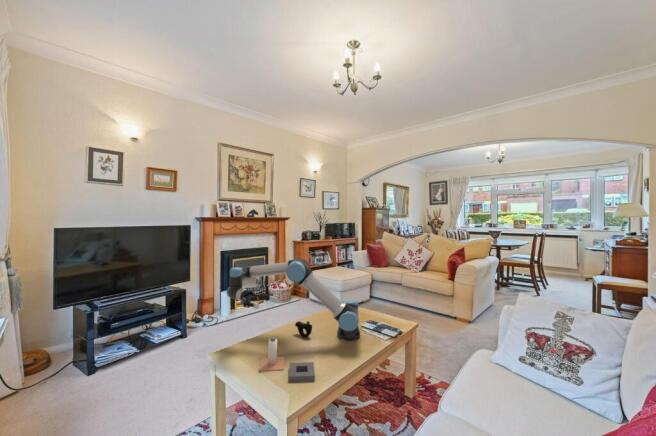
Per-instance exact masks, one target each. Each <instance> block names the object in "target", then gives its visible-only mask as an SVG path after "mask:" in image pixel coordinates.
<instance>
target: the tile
mask: <svg viewBox="0 0 656 436" xmlns="http://www.w3.org/2000/svg"><path fill="white" fill-rule="evenodd" d="M285 359H286V358H285V356H277V363H276V364H275V365H269V364H268V356H267V357H266V356H264V357H263V356H262V357H261V361H260V363H259V364H260V365H259V369H258V372H259V373H262V372H272V371H273V372H275V371H276V372H277V371H284V369H285Z"/></svg>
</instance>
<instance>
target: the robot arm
mask: <svg viewBox="0 0 656 436" xmlns="http://www.w3.org/2000/svg"><path fill="white" fill-rule="evenodd" d="M280 275H286V277H287V278H288V280H289V281H291V282H293V283H296V284H297V285H298V286H299V287H304V288H305V289H306V290H307V291H308V292H309V293H310V294H312V296H314V297H315V298H316V299H317V300H318V301H319V302H320V303H321V304H322V305H323V306H324V307H325V308H326V309H328V311H330V312H331V313H332V318H334V320H335V321H337V322H338V328H337V331H336V337H337V338H338V339H340V340H343V341H347V342H348V341H352V342H353V341H357V340H359V339H361V331H360V328H359V323H360V317H359V302H358V301H357V300H354V299H342V300H341V299H339V298H338V297H337V296H336V295H335V294H334V293H332V292H331V290H329V288H327V287H326V286H325V284H323V283H322V282H321V281H320V280H319V279H318V278H317V277H316V276H315V275H314V271H313V270H312V269H311V268H310V264H309V263H308V261H307V260H306V259H304V258H300V257H299V258H296V259H295V258H294V259H289V260H287V261H286V262H277V263H275V262H274V263H269V264H267V263H266V264H261V265H259V264H258V265H253V266H252V265H250V266H248V265H247V266H246V265H245V266H242V267H239V266H235V267H231V268H230V270H229V287H227V289H226V295H227V297H228V298H230V299H232V300H236V301H239V302H240V303H241V304H242V307H243V308H246V307H247V309H250V308H253V309H256V310H258V309H259V301H270V302H273V303H279V298H278V297H277V296H274V294H272V293H261V292H259V293H254V292H253V291H252V290H250V289H246V288H244V287H243V281H244V280H246V279H252V278H261V277H268V276H269V277H270V276H280ZM256 301H257V302H258V303H257V302H256Z"/></svg>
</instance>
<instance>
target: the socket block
mask: <svg viewBox="0 0 656 436" xmlns="http://www.w3.org/2000/svg"><path fill="white" fill-rule="evenodd" d="M314 364H315V363H314V361H307V362H306V361H304V362H303V361H302V362H301V361H300V362H289V370H288V371H289V374H288V377H289V378H288V383H298V382H299V383H300V382H303V383H304V382H315V381H316V375H315V365H314Z"/></svg>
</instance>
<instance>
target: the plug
mask: <svg viewBox="0 0 656 436" xmlns="http://www.w3.org/2000/svg"><path fill="white" fill-rule="evenodd" d="M267 349H268V351H267V353H268V354H267V357H268V364H269V365H275V364H276V363H277V357H278V339H277V338H276V336H274V335H272V336H270V338H269V339H268V348H267Z"/></svg>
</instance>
